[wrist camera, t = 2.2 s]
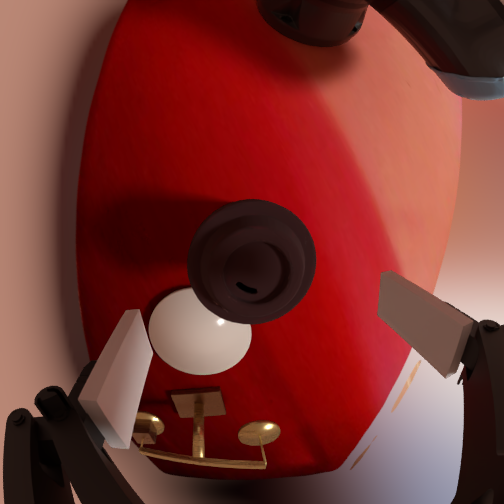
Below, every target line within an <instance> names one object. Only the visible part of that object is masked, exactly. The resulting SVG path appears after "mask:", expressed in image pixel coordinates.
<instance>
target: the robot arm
mask: <svg viewBox="0 0 504 504" xmlns="http://www.w3.org/2000/svg"><path fill="white" fill-rule="evenodd" d="M368 5H370V6H372V7H373V8H374V9H375V10H376V11H377V12H379V13H380V14H381V15H382V16H383V17H384V18H385V19H386V20H387V21H388V22H389V23H390V24H391V25H392V26H394V27H395V28H396V29H397V30H398V31H399V32H400V33H401V34H402V35H403V37H404V38H405V39H406V40H407V41H408V42H409V43H410V44H411V45H412V46H413V47H414V48H415V49H416V51H417V52H418V53H419V54H420V55H421V56H422V58H423V59H424V60H425V61H426V64H427V66H428V67H429V68H430V69H431V70H433V71H434V72H435V73H436V74H437V76H438V77H439V78H440V79H441V80H442V82H443V83H444V84H445V85H446V87H447V88H448V89H449V90H450V91H452V92H453V93H455V94H456V95H458V96H461V97H465V98H468V99H471V100H493V99H499V98H503V97H504V0H257V6H258V9H259V11H260V13H261V15H262V16H263V18H264V19H265V20H266V21H267V23H269V24H270V25H271V26H272V27H273V28H274V29H276V30H277V31H278V32H280V33H281V34H283V35H285V36H287V37H289V38H291V39H293V40H295V41H298V42H301V43H304V44H308V45H312V46H319V47H331V46H337V45H341V44H343V43H345V42H347V41H348V40H350V39H351V38H352V37H353V36H354V35H355V34H357V32H358V31H359V30H360V28H361V26H362V23H363V20H364V17H365V14H366V11H367V8H368ZM377 315H378V316H379V317H380V318H381V319H382V320H383V321H384V322H385V323H386V324H388V325H389V326H390V327H391V328H392V329H393V330H394V331H395V332H396V333H397V334H399V335H400V336H401V337H402V338H403V339H404V340H405V341H406V342H407V343H408V344H409V345H411V346H412V347H413V348H414V349H415V350H416V351H417V352H418V353H419V354H420V355H421V356H422V357H423V358H424V359H425V360H427V361H428V362H429V363H430V364H431V365H432V366H433V367H434V368H435V369H436V370H437V371H438V372H439V373H440V374H441V375H442V376H443V377H444V378H448V377H449V376H451V375H453V374H454V373H456V372H457V369H458V367H459V364H460V362H462V363H463V364H464V368H463V370H462V372H461V375H460V377H459V380H458V383H457V384H459V383H460V381H461V380H462V379H463V383H462V385H463V391H464V430H463V448H462V458H461V466H460V474H459V480H458V486H457V491H456V495H455V497H454V499H453V501H452V502H451V504H504V325H501V326H500V325H499V324H498V323H497V322H494V321H492V320H482V321H480V322H477V321H476V320H474V319H473V318H471V317H470V316H468V315H466V314H465V313H463V312H461V311H460V310H459V309H457V308H455V307H454V306H452V305H450V304H449V303H447V302H444V301H441V300H440V299H439V298H437V297H435V296H434V295H432V294H430V293H429V292H427V291H425V290H424V289H422V288H421V287H419V286H417V285H416V284H414V283H412V282H410V281H409V280H407V279H405V278H404V277H402V276H400V275H399V274H397V273H395V272H393V271H392V270H391V271H386V272H381V280H380V292H379V303H378V312H377ZM152 355H153V351H152V348H151V345H150V342H149V339H148V336H147V333H146V330H145V327H144V323H143V320H142V317H141V313H140V310H139V309H136V310H126V311H125V313H124V315H123V316H122V318H121V320H120V321H119V323H118V325H117V326H116V328H115V330H114V332H113V333H112V335H111V337H110V339H109V340H108V342H107V344H106V346H105V348H104V349H103V351H102V353H101V355H100V357H99V359H98V360H97V361H91V362H89V363H88V364H87V365H86V366H85V367H84V369H83V370H82V372H81V374H80V377H78V379H77V381H76V383H75V384H74V386H73V388H72V390H71V392H70V394H69V396H68V397H67V395H66V394H65V392H64V391H63V389H62V388H61V387H58V386H49V387H46V388H44V389H42V390H41V391H40V392H39V393H38V394H37V396H36V397H35V403H34V404H35V405H36V407H37V408H38V410H39V411H40V412H41V414H42V415H43V417H33V416H32V415H31V413H30V412H29V411H28V410H27V409H25V408H19V409H16V410H14V411H13V412H11V414H10V415H9V416H8V418H7V422H6V431H5V441H4V456H3V489H4V504H75V502H74V498H73V494H72V490H71V485H70V482H71V484H72V486H73V488H74V490H75V492H76V494H77V496H78V498H79V500H80V502H81V503H82V504H145V503H144V502H143V501H142V500H141V499H140V497H139V496H138V495H137V494H136V492H135V491H134V490H133V489H132V487H131V486H130V485H129V483H128V482H127V481H126V479H125V478H124V477H123V475H122V474H121V472H120V471H119V470H118V468H117V467H116V465H115V464H114V462H113V461H112V459H111V458H110V456H109V455H108V453H107V452H106V450H105V449H104V448H103V443H104V440H106V441H107V442H108V444H109V445H110V446H111V447H113V448H122V449H129V445H130V440H131V436H132V431H133V427H134V423H135V419H136V414H137V410H138V406H139V402H140V398H141V395H142V391H143V387H144V383H145V380H146V376H147V372H148V369H149V365H150V362H151V358H152Z"/></svg>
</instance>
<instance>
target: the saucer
mask: <svg viewBox="0 0 504 504" xmlns="http://www.w3.org/2000/svg"><path fill="white" fill-rule="evenodd" d="M149 337H150V341H151V343H152V346H153V347H154V349H155V351H156V352H157V354H158V355H159V356H160V357H161V358H162V359H163V360H164V361H165V362H166V363H168V364H169V365H171V366H172V367H174V368H176V369H178V370H180V371H183V372H186V373H190V374H197V375H209V374H215V373H219V372H222V371H225V370H227V369H229V368H231V367H232V366H234V365H235V364H237V363H238V362H239V361H240V360H241V359H242V358H243V356H244V355H245V354H246V352H247V350H248V348H249V345H250V342H251V327H250V324H239V323H233V322H230V321H227V320H224V319H222V318H220V317H218V316H217V315H215V314H213V313H212V312H210V311H209V310H208V309H207V308H206V307H204V305H203V304H202V303H201V302H200V301H199V300H198V298H197V297H196V295H195V293H194V291H193V289H192V287H188V288H183V289H180V290H177V291H174V292H172V293H170V294H169V295H167V296H166V297H164V298H163V299H162V300H161V301H160V302H159V303H158V304H157V306H156V307H155V309H154V311H153V313H152V315H151V318H150V322H149Z"/></svg>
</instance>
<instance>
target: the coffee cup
mask: <svg viewBox="0 0 504 504" xmlns="http://www.w3.org/2000/svg"><path fill="white" fill-rule="evenodd" d="M315 269H316V251H315V246H314V242H313V239H312V237H311V235H310V233H309V231H308V229H307V228H306V226H305V225H304V223H303V222H302V221H301V220H300V219H299V218H298V217H297V216H296V215H295V214H293V213H292V212H291V211H289V210H288V209H286V208H284V207H282V206H280V205H278V204H275V203H272V202H269V201H265V200H259V199H246V200H239V201H236V202H232V203H229V204H227V205H225V206H222V207H221V208H219V209H217V210H216V211H214V212H213V213H212V214H211V215H209V216H208V217H207V218H206V219H205V220H204V221H203V223H202V224H201V225H200V227H199V228H198V230H197V231H196V233H195V235H194V237H193V240H192V242H191V245H190V248H189V253H188V259H187V270H188V277H189V281H190V284H191V287H192V289H193V291H194V293H195V295H196V297H197V298H198V300H199V301H200V302H201V303H202V304H203V305H204V307H206V308H207V309H208V310H209V311H210V312H212V313H213V314H215V315H217V316H218V317H220V318H222V319H224V320H227V321H230V322H233V323H239V324H261V323H265V322H269V321H272V320H275V319H277V318H279V317H281V316H283V315H284V314H286V313H288V312H289V311H290V310H292V309H293V308H294V307H295V306H296V305H297V304H298V303H299V302H300V301H301V300H302V299H303V297H304V296H305V295H306V293H307V291H308V289H309V288H310V286H311V283H312V281H313V278H314V274H315Z"/></svg>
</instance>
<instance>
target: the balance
mask: <svg viewBox="0 0 504 504" xmlns="http://www.w3.org/2000/svg"><path fill="white" fill-rule="evenodd" d="M171 397H172V399H173V402H174V404H175V406H176V409H177V411H178V413H179V416H180V418H186V417H194V425H193V456H186V455H179V454H173V453H168V452H162V451H157V450H152V449H148V448H144V447H143V444H155V442H156V435H158V434H160V433H162V432H163V430H164V423H163V421H162V420H161V419H160V418H159V417H158V416H156V415H154V414H152V413H150V412H146V411H137V414H136V419H135V423H134V427H133V431H132V436H133V437H134V439H135V440H136V441H137V443H141V447H140V449H139V452H140V453H141V454H143V455H148V456H152V457H156V458H161V459H166V460H172V461H177V462H183V463H190V464H197V465H205V466H215V467H227V468H246V469H266V465H267V463H266V459H265V454H264V449H263V444H267V443H270V442H272V441H274V440H275V439H276V438H277V437H278V436H279V434H280V428H279V426H278V424H276V423H275V422H273V421H269V420H257V421H253V422H249V423H247V424H245V425H243V426H242V427H241V428H240V429H239V431H238V438H239V440H240V441H241V442H242V443H244V444H247V445H260V446H261V450H262V455H263V460H264V461H238V460H222V459H210V458H204V416H214V415H224V414H226V409H225V405H224V401H223V397H222V393H221V390H220V386H219V387H210V388H199V389H185V390H172V391H171Z"/></svg>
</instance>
